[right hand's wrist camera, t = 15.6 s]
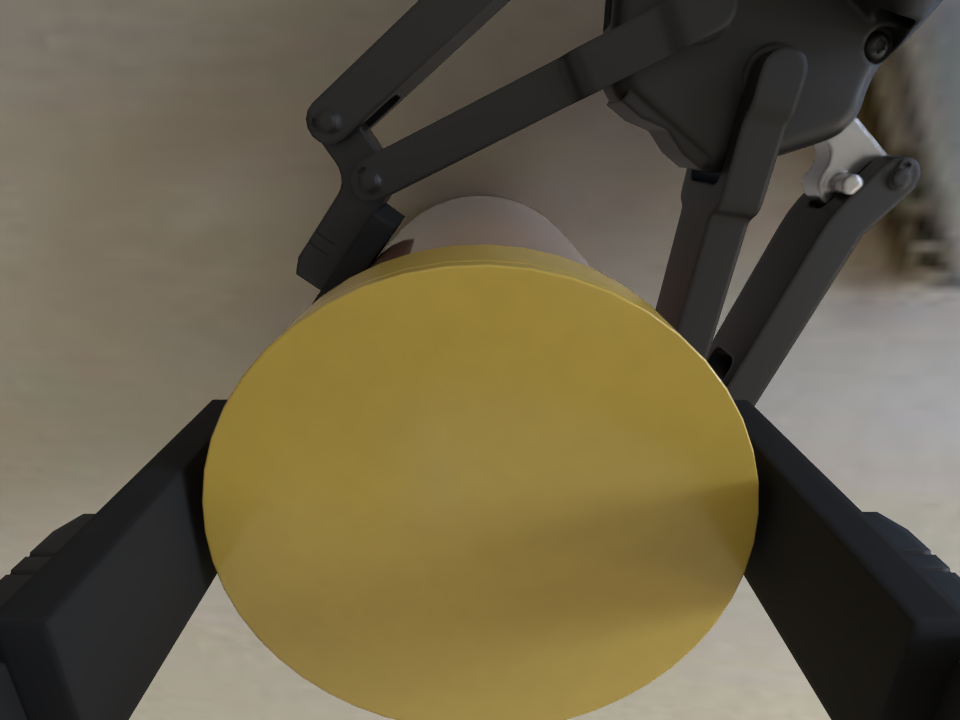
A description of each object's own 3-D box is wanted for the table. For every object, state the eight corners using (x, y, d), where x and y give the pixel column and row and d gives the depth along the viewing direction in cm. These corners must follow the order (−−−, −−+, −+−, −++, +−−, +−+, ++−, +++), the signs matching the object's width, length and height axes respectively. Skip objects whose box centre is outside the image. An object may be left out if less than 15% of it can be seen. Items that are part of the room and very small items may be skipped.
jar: (357, 208, 24) (170, 313, 10) (581, 183, 24) (740, 254, 9) (392, 409, 28) (294, 714, 13) (589, 389, 27) (717, 682, 13)
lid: (180, 274, 11) (122, 300, 9) (731, 215, 10) (782, 230, 9) (299, 674, 14) (274, 748, 13) (710, 641, 14) (743, 712, 12)
